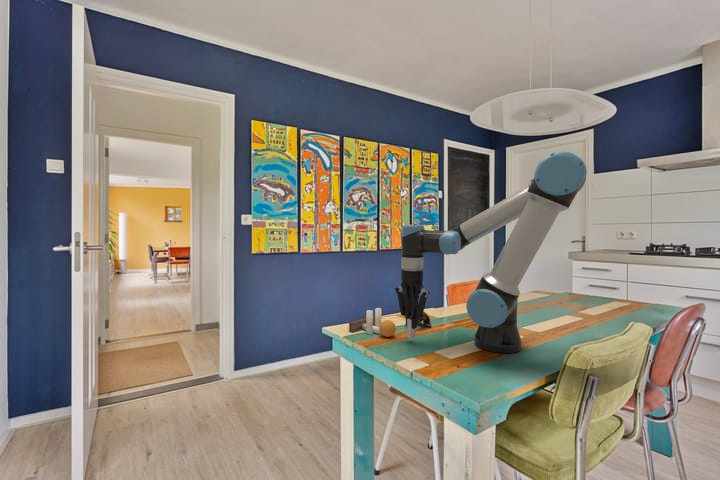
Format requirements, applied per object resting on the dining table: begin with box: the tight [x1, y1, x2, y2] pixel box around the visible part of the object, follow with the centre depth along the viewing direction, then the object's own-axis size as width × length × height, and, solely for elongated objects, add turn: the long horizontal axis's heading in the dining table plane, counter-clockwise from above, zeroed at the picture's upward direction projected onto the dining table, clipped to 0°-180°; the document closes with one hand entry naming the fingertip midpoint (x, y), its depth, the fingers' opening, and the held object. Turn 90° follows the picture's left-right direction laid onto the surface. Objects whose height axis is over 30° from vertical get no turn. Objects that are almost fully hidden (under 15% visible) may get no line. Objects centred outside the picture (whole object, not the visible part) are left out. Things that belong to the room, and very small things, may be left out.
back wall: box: [348, 316, 375, 333], centre depth 141 cm, size 2×13×4 cm, turn 137°
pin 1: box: [365, 309, 374, 335], centre depth 135 cm, size 2×2×8 cm
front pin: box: [362, 323, 382, 335], centre depth 138 cm, size 2×2×8 cm
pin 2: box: [374, 307, 383, 327], centre depth 139 cm, size 2×2×8 cm
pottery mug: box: [417, 311, 432, 329], centre depth 146 cm, size 12×10×8 cm
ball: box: [379, 319, 397, 338], centre depth 132 cm, size 6×6×6 cm
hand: (411, 336), depth 126 cm, fingers closed
